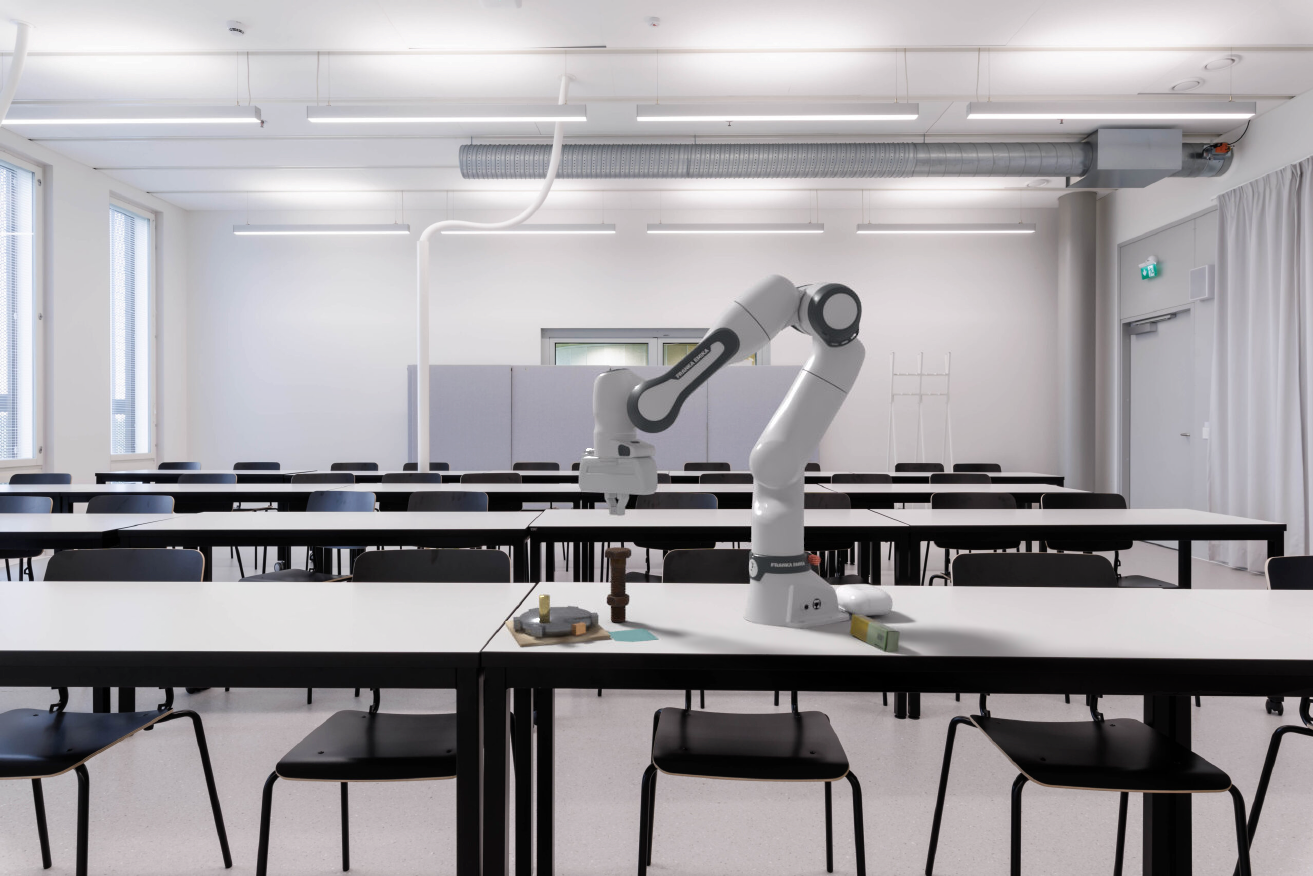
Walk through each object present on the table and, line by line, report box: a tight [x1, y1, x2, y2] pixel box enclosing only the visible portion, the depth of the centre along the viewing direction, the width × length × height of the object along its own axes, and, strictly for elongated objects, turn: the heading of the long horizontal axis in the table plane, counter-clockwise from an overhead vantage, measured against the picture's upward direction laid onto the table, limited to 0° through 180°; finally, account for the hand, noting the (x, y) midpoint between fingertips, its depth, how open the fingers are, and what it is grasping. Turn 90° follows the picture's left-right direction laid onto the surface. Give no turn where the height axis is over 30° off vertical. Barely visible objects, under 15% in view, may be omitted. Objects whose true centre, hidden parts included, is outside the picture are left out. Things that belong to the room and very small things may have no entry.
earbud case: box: [835, 583, 894, 617], centre depth 161 cm, size 10×13×5 cm
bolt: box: [604, 546, 632, 623], centre depth 152 cm, size 6×5×15 cm
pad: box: [607, 627, 659, 643], centre depth 141 cm, size 8×8×1 cm
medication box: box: [849, 614, 901, 653], centre depth 137 cm, size 12×3×4 cm, turn 17°
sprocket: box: [512, 594, 599, 637], centre depth 144 cm, size 16×15×7 cm
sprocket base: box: [504, 619, 611, 648], centre depth 144 cm, size 17×17×1 cm
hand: (617, 515), depth 151 cm, fingers closed
